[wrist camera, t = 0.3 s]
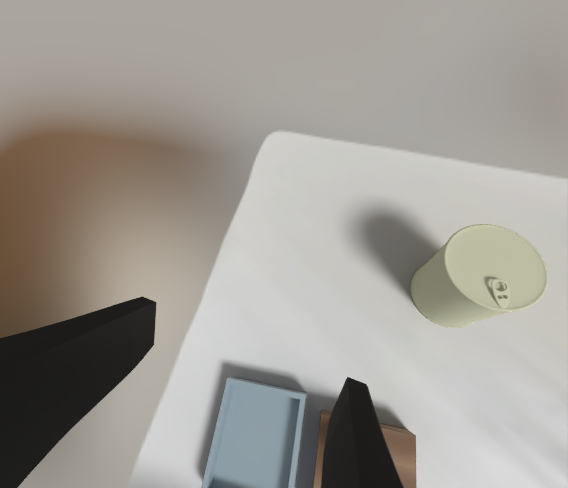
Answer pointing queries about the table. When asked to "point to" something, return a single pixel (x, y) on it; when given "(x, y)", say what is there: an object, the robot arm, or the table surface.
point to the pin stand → (398, 445)
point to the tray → (256, 437)
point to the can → (479, 277)
